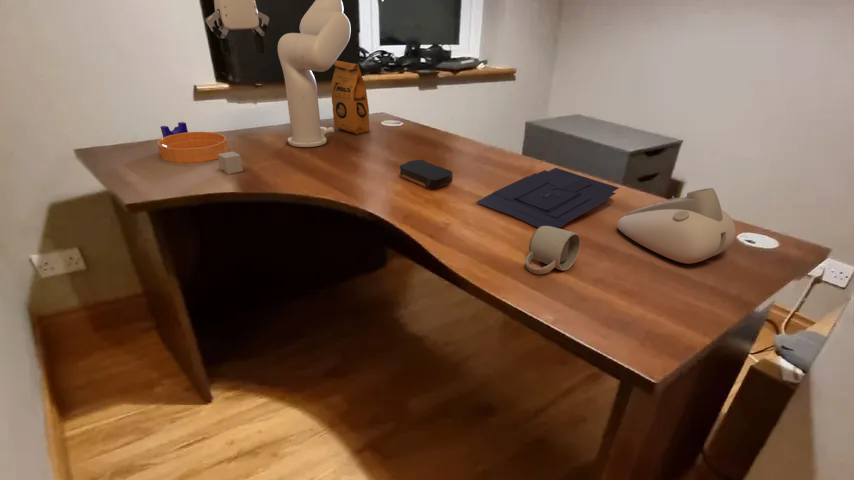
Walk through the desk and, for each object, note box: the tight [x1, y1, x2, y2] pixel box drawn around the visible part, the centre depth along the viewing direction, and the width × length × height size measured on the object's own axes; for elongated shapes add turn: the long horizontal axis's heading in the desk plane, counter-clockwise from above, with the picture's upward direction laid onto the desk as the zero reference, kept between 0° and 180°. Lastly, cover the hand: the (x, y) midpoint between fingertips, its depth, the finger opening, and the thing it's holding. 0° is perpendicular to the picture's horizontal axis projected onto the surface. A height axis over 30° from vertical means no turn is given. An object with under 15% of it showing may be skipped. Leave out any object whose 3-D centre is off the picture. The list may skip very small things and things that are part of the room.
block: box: [218, 151, 244, 175], centre depth 150 cm, size 4×4×4 cm
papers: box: [476, 167, 620, 229], centre depth 136 cm, size 24×30×4 cm
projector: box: [617, 187, 737, 265], centre depth 113 cm, size 22×23×15 cm
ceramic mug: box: [525, 226, 581, 275], centre depth 106 cm, size 11×8×8 cm
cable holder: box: [160, 121, 189, 138], centre depth 177 cm, size 8×4×4 cm, turn 148°
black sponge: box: [399, 159, 454, 190], centre depth 148 cm, size 16×8×4 cm, turn 40°
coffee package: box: [330, 60, 370, 135], centre depth 185 cm, size 10×12×22 cm
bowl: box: [156, 131, 230, 164], centre depth 161 cm, size 19×19×4 cm
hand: (244, 53), depth 146 cm, fingers open, 9 cm apart
